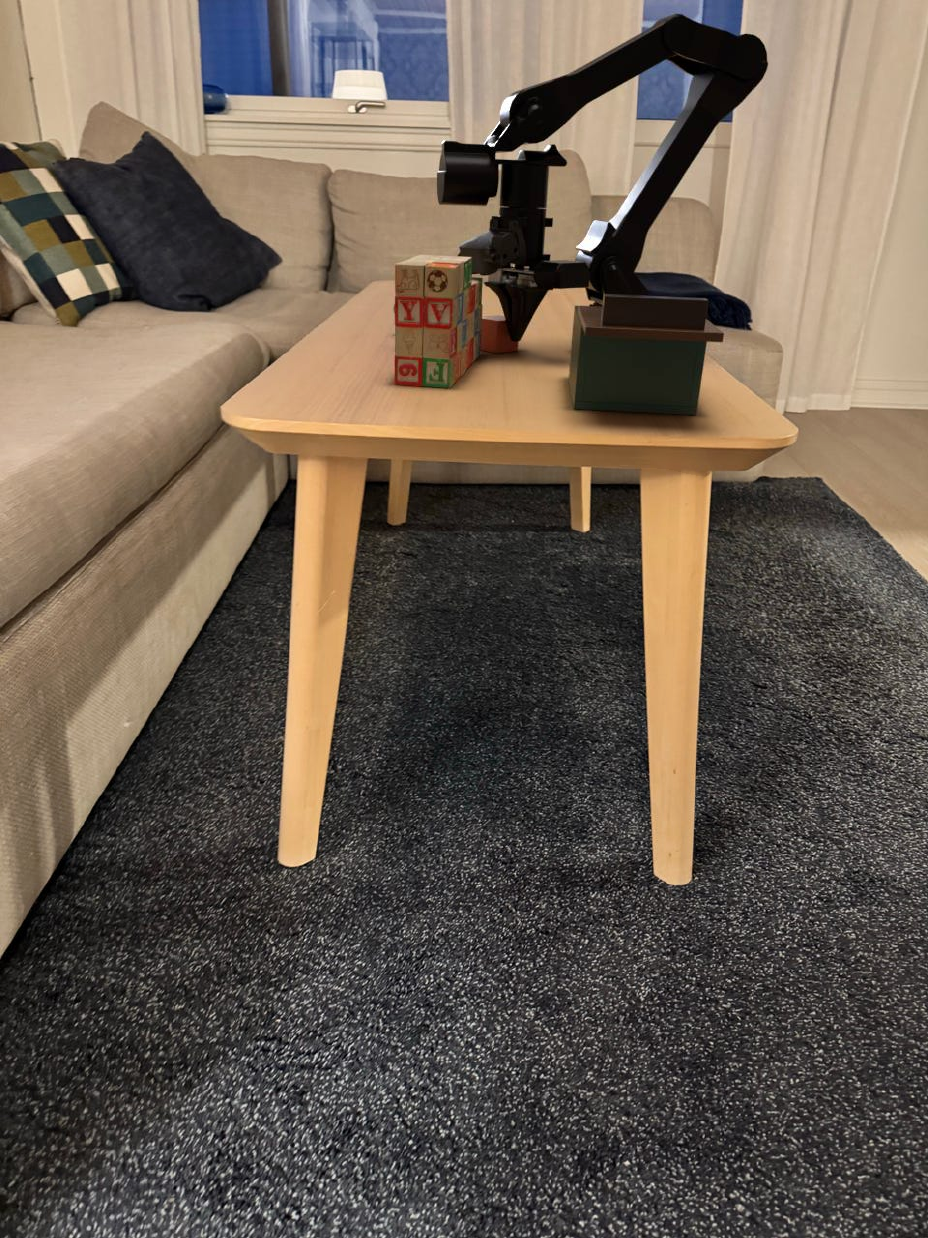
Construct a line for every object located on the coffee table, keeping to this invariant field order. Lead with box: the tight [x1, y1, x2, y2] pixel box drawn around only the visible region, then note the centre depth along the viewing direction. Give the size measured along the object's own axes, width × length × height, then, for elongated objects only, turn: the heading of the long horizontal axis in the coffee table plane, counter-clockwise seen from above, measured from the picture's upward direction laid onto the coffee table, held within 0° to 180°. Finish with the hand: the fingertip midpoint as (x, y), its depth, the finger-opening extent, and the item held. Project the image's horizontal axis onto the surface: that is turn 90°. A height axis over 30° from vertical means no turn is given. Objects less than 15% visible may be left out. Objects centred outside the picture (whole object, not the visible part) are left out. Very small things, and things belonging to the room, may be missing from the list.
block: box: [481, 315, 519, 354], centre depth 118 cm, size 4×4×4 cm
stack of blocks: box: [394, 254, 484, 389], centre depth 104 cm, size 21×6×12 cm, turn 170°
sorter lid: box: [577, 294, 725, 343], centre depth 85 cm, size 15×12×3 cm
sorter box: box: [568, 305, 708, 416], centre depth 94 cm, size 15×12×8 cm
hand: (515, 341), depth 116 cm, fingers closed
